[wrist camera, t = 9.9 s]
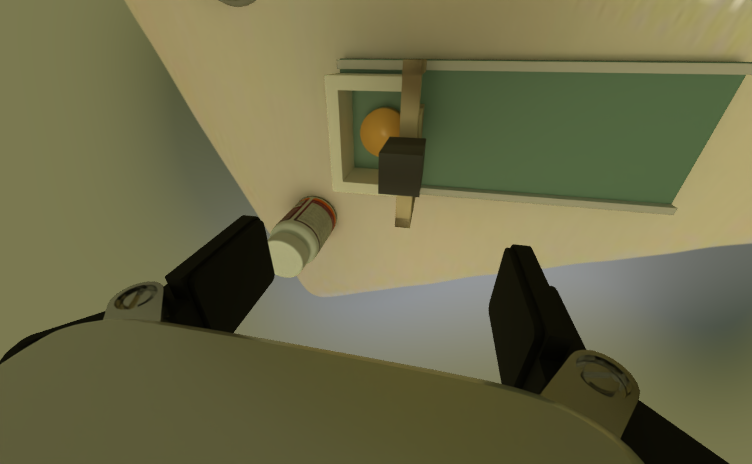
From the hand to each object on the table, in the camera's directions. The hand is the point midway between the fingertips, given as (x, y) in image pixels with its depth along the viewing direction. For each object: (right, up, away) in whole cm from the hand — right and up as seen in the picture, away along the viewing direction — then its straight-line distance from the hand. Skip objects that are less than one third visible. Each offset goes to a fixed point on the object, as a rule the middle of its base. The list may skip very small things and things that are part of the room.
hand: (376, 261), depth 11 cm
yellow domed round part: (+1, +13, +22) cm, 25 cm away
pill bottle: (-9, +4, +31) cm, 32 cm away
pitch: (+14, +12, +21) cm, 28 cm away
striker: (+4, +12, +21) cm, 24 cm away
